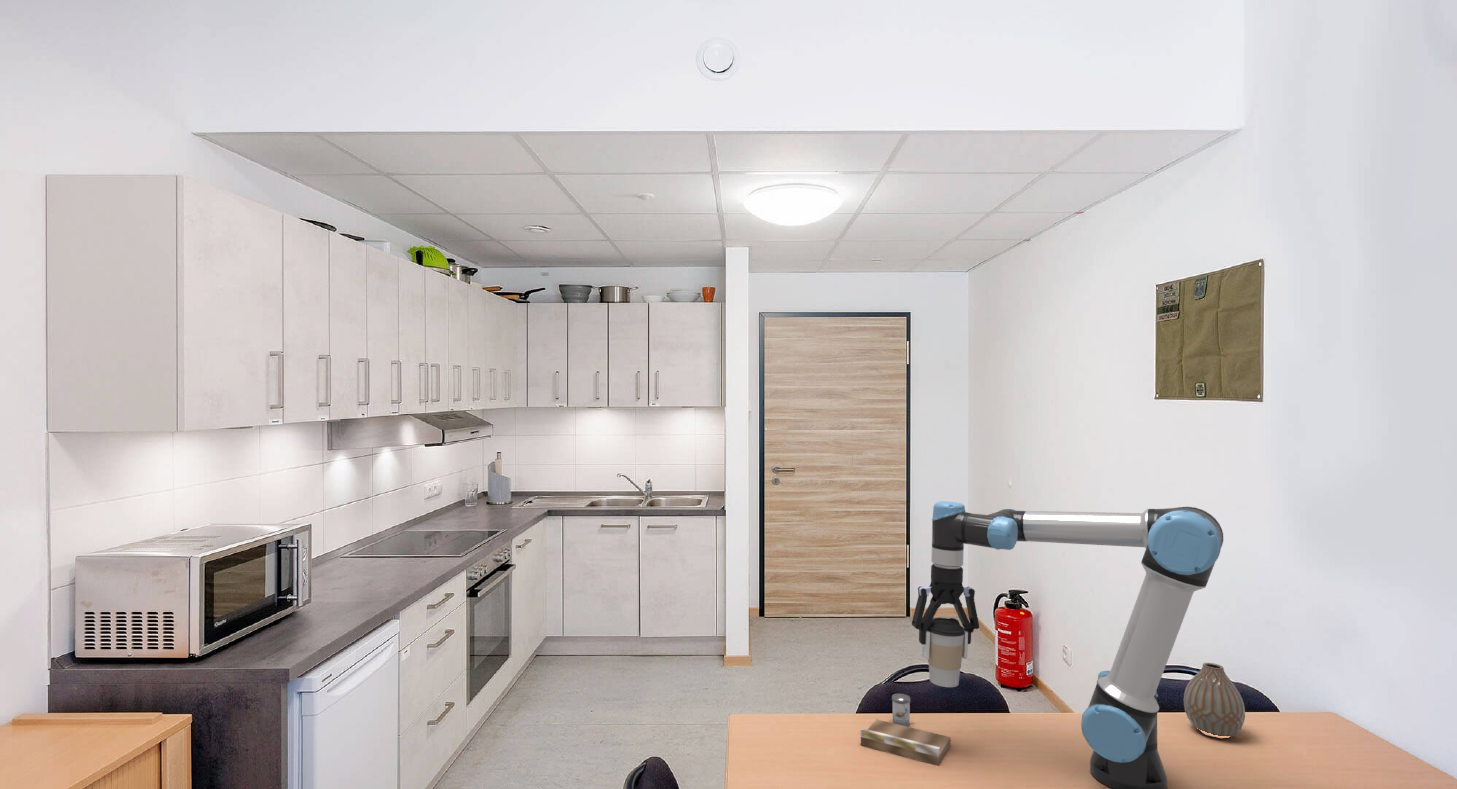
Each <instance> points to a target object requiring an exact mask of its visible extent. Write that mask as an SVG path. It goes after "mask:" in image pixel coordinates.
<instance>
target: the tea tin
mask: <svg viewBox="0 0 1457 789" xmlns="http://www.w3.org/2000/svg"><path fill="white" fill-rule="evenodd" d="M891 701H892V723H894V724H898V725H902V726H907V727H911V725H910V714H911V713H910V712H911V708H910V707H911V706H910V703H911V697H910V695H908V694H905V693H894V694H892V695H891Z"/></svg>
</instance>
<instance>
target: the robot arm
mask: <svg viewBox="0 0 1457 789" xmlns="http://www.w3.org/2000/svg"><path fill="white" fill-rule="evenodd" d="M932 509H933V511H932V518H931V522H932V523H931V524H932V526H931V527H932V528H931V560H930V561H931V563H932V564H931V565H930V584H929V586H925V587H922V586H918V587H917V593H918V594H917V595H918V597H917V601H916V605H915V609H914V612H913V617H912V620H911V626H913V628H915V629H916V630H918V642H919V643H920V644H921V656H922V657H924V659H925V660H928V659H929V648H930V632H929V631H928V630H927V629H928V627H929V625H930V623H931V621H932V619H934V618H935V616H936V613H937V611H938V609H940V607H941V606H942V605H946V604H949V605H952V606H953V607H954V610H955V611H956V614H957V617H958V619H959V622H960V624H961V626H962V627H963V628H964V632H965V634H964V637H963V643H964V644H963V653H962V659H964V660H967V659H968V650H969V649H968V646H969V645H970V644H971V642H972V633H973V632H975V630H978V629H979V628H980V623H979V618H978V613H977V608H976V603H975V594H976V593H975V592H976V591H975V589H973V588H972V587H971V586H966V587H964V586H963V580H964V568H963V567H962V566H963V565H964V547H965V546H964V545H970V546H971V545H973V546H977V547H978V546H979V547H983V548H984V547H985V548H988V549H989V548H991V549H995V550H998V551H999V550H1005V551H1010V550H1013V549H1015V546H1016V545H1017V542H1031V543H1033V542H1034V543H1052V544H1053V543H1054V544H1072V545H1073V544H1074V545H1076V544H1077V545H1091V546H1092V545H1093V546H1111V547H1113V546H1114V547H1132V548H1144V549H1145V550H1144V553H1143V556H1142V558H1141V561H1140V564H1141V566H1142V568H1143V569H1144V571H1145V576H1144V579H1143V581H1142V584H1141V586H1140V590H1139V592H1138V595H1137V597H1136V601H1135V603H1134V606H1133V609H1132V611H1131V614H1130V616H1129V620H1128V621H1127V625H1126V627H1125V629H1124V634H1123V635H1122V639H1121V641H1120V645H1119V646H1118V650H1117V652H1116V654H1115V658H1114V661H1113V663H1112V666H1111V669H1110V670H1103V671H1100V672H1099V673H1098V674H1097V680H1096V685H1095V688H1094V691H1093V694H1092V696H1091V698H1090V700H1089V704H1088V706H1087V708H1086V709H1085V710H1084V712H1083V713H1082V714H1081V715H1082V716H1081V722H1080V723H1081V733H1082V735H1083V737H1084V739H1085V741H1086V742H1087V744H1088V746H1089V747H1090V748H1091V749H1092V750H1093V751H1092V754H1091V755H1090V756H1091V757H1090V760H1089V770H1090V771H1089V772H1090V774H1091V775H1092V777H1093V778H1094V779H1095V780H1097V781H1098V782H1100V784H1103V785H1104V786H1107V787H1108V788H1110V789H1168V777H1167V773H1166V771H1165V768H1164V765H1163V761H1162V760H1161V756H1160V754H1159V751H1158V749H1159V748H1158V714H1159V710H1160V706H1159V703H1158V700H1157V699H1158V697H1159V694H1158V691H1157V689H1158V688H1159V684H1160V682H1161V679H1162V677H1163V674H1164V672H1165V669H1166V666H1167V663H1168V661H1169V658H1170V656H1171V654H1172V651H1173V648H1174V646H1175V642H1176V639H1177V637H1178V635H1179V633H1180V632H1179V631H1180V629H1181V627H1182V624H1183V622H1184V619H1185V616H1186V613H1187V611H1188V608H1189V606H1190V603H1191V600H1192V597H1193V595H1194V593H1195V591H1199V590H1203V589H1205V588H1206V587H1207V584H1208V582H1209V580H1210V576H1211V574H1212V571H1213V569H1214V566H1215V564H1216V562H1217V560H1218V558H1219V557H1220V553H1221V550H1222V547H1223V544H1224V532H1223V531H1224V530H1223V528H1222V527H1221V525H1220V523H1219V521H1218V520H1217V519H1216V518H1215V517H1214V516H1213V515H1211V514H1210V513H1209V512H1207V511H1205V510H1203V509H1202V508H1201V509H1200V508H1198V507H1195V506H1193V507H1192V506H1179V507H1172V508H1171V507H1169V508H1147V509H1145V510H1144V511H1143V512H1100V511H1099V512H1095V511H1089V512H1088V511H1059V510H1058V511H1057V510H1055V511H1054V510H1053V511H1052V510H1050V511H1048V510H1047V511H1046V510H1042V511H1041V510H1016V509H1011V508H1006V509H1005V508H1004V509H1001V510H998V511H996V512H993V513H992V512H991V513H990V514H981V513H971V512H967V511H966V507H965V504H963V503H962V502H961V503H960V502H955V501H938V502H935V503H934V505H933V508H932ZM930 593H931V595H932V596H931V598H930V601H929V605H928V607H927V608H926V605H927V602H928V601H927V600H928V597H929V595H930ZM962 595H964V599H965V604H966V609H967V613H966V612H965V610H964V607H963V604H962V602H961V600H960V597H961V596H962ZM925 608H926V610H925ZM967 615H968V616H967Z"/></svg>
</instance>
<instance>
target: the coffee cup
mask: <svg viewBox="0 0 1457 789" xmlns="http://www.w3.org/2000/svg"><path fill="white" fill-rule="evenodd" d="M927 630H928V631H929V632H930V648H929V659H927V663H928V672H929V673H928V674H929V675H928V676H929V677H928V678H929V682H930V683H932V684H933V685H936V686H938V687H942V688H943V687H945V688H955V687H958V686H959V684H960V683H959V682H960V674H961V668H962V661H963V657H962V653H963V644H964V643H963V637H964V634H965V632H964V627H963V625H962V624H961V622H960V620H958V619H957V618H954V617H949V618H947V617H933V619H932V621H931V623H930V625H929V627H928V629H927Z"/></svg>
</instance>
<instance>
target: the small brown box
mask: <svg viewBox="0 0 1457 789" xmlns="http://www.w3.org/2000/svg"><path fill="white" fill-rule="evenodd" d="M951 739H952V738H951V736H947V735H943V734H940V733H939V734H938V733H935V732H932V731H931V732H930V731H927V730H923V729H919V728H914V727H911V726H909V727H907V726H902V725H898V724H894V723H893V722H889V721H885V720H882V719H878V718H877V719H875V720H874V722H873V723H872V724H871V725H870V726H869V727H868V728H863V727H862V728H861V729H860V746H862V747H867V748H870V749H875V750H878V751H881V752H885V753H887V754H889V753H890V754H893V755H897V756H900V757H904V758H908V759H912V760H915V761H919V762H923V763H927V764H931V765H935V766H940V764H941V763H942V762H943V759H944V757H945V756H946V754H947V752H948V750H949V749H950V748H951V745H952V743H951V741H952V740H951Z"/></svg>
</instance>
